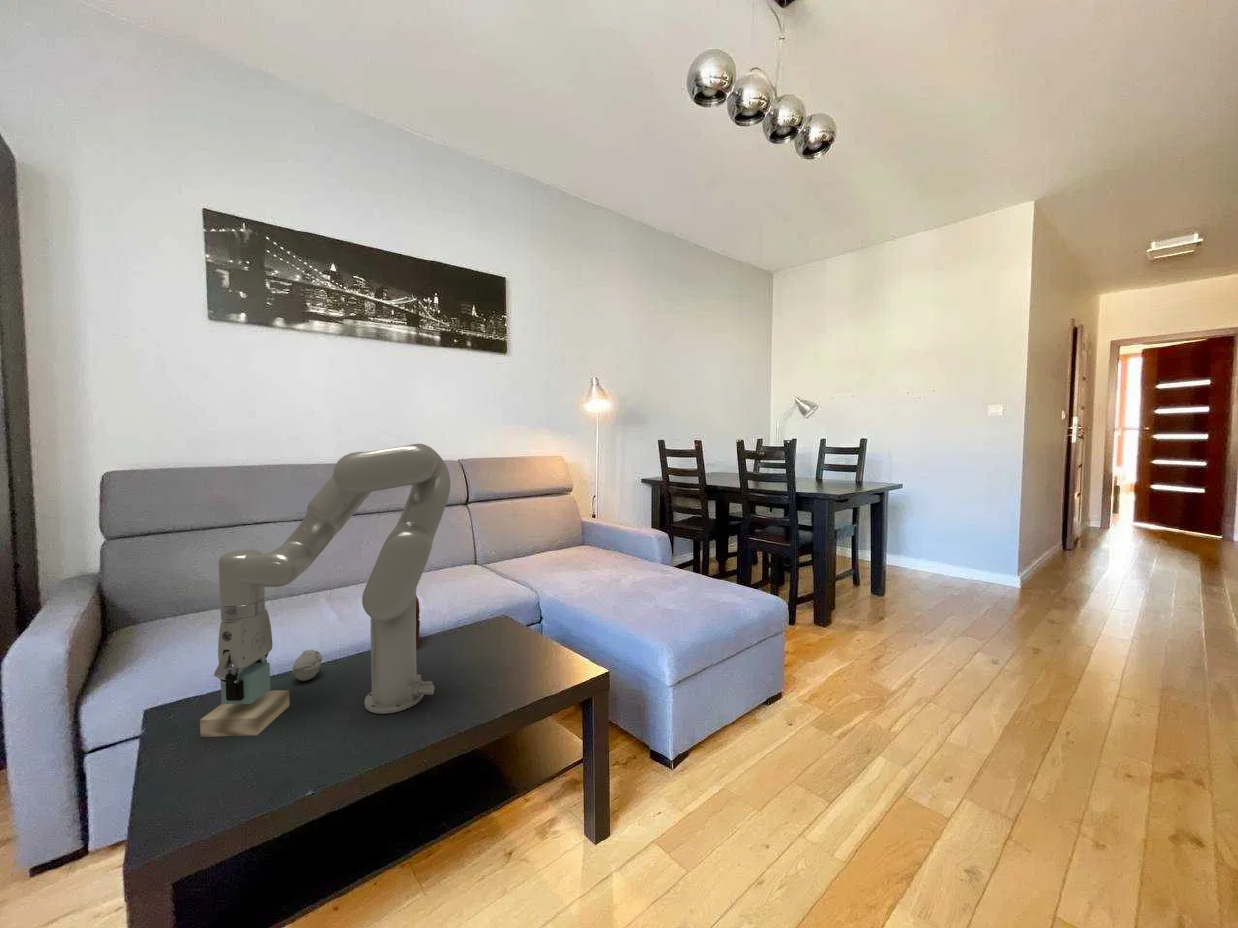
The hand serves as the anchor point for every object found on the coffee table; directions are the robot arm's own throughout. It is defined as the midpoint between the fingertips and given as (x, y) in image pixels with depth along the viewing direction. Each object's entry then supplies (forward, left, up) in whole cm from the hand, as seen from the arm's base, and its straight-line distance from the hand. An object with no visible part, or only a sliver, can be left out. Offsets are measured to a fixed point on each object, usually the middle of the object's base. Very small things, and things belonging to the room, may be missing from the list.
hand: (246, 690), depth 106 cm
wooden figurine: (-18, -38, -7) cm, 43 cm away
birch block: (0, 0, -7) cm, 7 cm away
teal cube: (0, 0, -1) cm, 1 cm away
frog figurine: (-2, -18, -7) cm, 19 cm away
